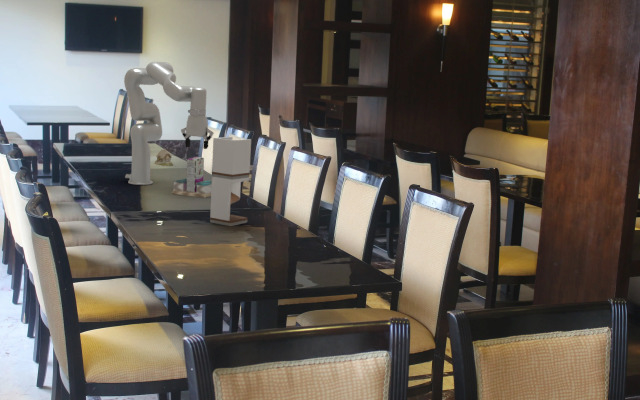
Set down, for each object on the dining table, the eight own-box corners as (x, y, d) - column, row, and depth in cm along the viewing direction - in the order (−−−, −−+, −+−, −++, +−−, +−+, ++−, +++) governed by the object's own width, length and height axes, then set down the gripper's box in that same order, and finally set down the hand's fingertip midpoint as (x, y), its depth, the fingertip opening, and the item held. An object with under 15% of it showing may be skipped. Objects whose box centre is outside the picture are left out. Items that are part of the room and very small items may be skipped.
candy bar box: (194, 188, 405) (195, 156, 402) (203, 189, 404) (204, 157, 401) (185, 191, 394) (186, 158, 392) (195, 192, 393) (196, 159, 391)
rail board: (172, 193, 395) (172, 180, 394) (185, 190, 409) (185, 177, 408) (205, 197, 390) (205, 184, 389) (217, 194, 403) (218, 181, 402)
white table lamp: (230, 226, 326) (234, 140, 320) (210, 222, 331) (213, 137, 326) (247, 222, 336) (251, 139, 330) (227, 218, 341) (230, 136, 335)
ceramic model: (151, 163, 507) (152, 147, 505) (168, 163, 513) (168, 147, 512) (160, 166, 496) (160, 150, 494) (177, 165, 502) (177, 150, 500)
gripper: (178, 112, 392) (177, 146, 395) (210, 114, 387) (209, 150, 390) (185, 111, 399) (184, 145, 402) (217, 114, 394) (215, 148, 397)
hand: (196, 147), depth 396 cm, fingers open, 9 cm apart
